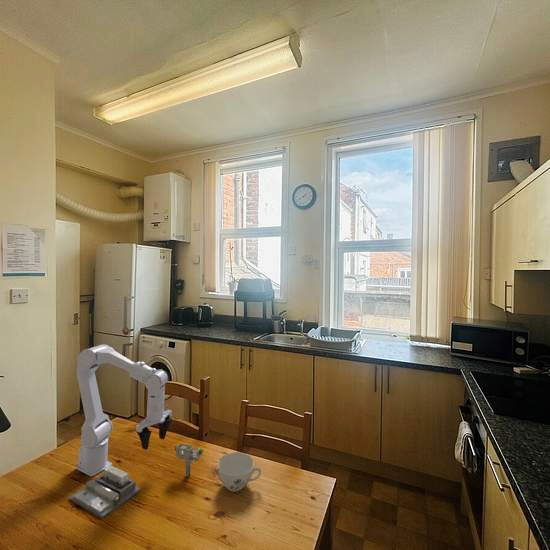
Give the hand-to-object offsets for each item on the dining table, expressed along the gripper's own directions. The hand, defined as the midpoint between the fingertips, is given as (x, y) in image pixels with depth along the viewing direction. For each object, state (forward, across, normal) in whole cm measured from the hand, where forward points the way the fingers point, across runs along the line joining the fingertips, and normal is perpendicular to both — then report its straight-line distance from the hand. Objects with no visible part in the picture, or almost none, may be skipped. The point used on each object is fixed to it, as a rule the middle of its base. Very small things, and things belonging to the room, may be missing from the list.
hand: (153, 443), depth 106 cm
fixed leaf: (+10, -15, +4) cm, 19 cm away
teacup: (+11, +9, -31) cm, 34 cm away
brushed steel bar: (+10, -12, +4) cm, 16 cm away
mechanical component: (+11, +5, -12) cm, 17 cm away
